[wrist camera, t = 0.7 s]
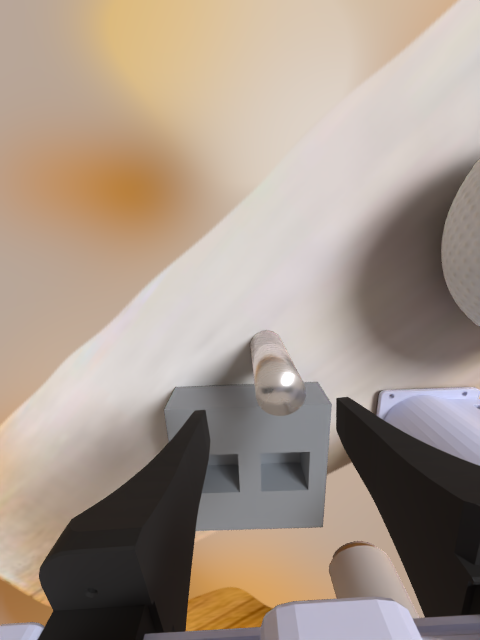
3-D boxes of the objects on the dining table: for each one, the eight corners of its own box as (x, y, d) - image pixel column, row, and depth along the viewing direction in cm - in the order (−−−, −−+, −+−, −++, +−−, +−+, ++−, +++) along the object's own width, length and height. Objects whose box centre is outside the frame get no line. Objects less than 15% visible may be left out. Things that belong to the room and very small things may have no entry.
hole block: (317, 381, 22) (331, 403, 19) (312, 492, 26) (322, 527, 22) (175, 387, 22) (164, 409, 19) (189, 495, 26) (181, 531, 23)
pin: (282, 329, 21) (307, 370, 13) (282, 359, 22) (305, 415, 14) (249, 331, 21) (255, 372, 13) (250, 360, 22) (256, 416, 14)
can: (315, 568, 29) (365, 772, 17) (345, 529, 27) (423, 727, 16) (365, 583, 30) (445, 789, 18) (398, 547, 28) (509, 749, 16)
